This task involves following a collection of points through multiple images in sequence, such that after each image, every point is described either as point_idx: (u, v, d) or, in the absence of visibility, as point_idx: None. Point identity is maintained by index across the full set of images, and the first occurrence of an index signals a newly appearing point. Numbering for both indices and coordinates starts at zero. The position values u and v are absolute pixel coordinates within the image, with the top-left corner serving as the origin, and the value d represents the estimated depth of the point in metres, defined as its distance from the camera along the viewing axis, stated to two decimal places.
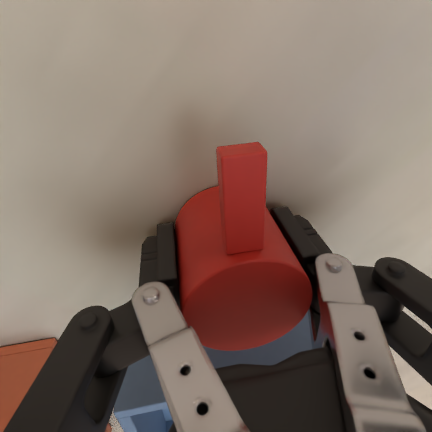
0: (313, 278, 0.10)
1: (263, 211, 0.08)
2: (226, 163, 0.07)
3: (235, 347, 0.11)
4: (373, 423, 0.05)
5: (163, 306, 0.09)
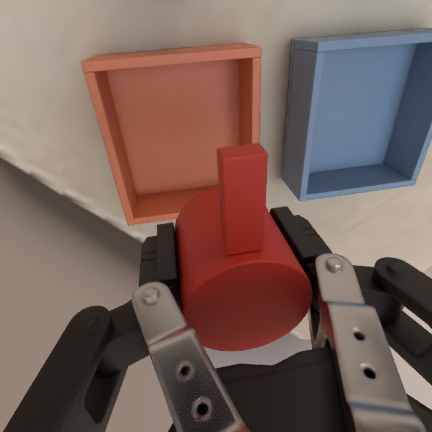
0: (313, 278, 0.10)
1: (263, 212, 0.08)
2: (226, 164, 0.07)
3: (235, 347, 0.11)
4: (373, 423, 0.05)
5: (163, 306, 0.09)
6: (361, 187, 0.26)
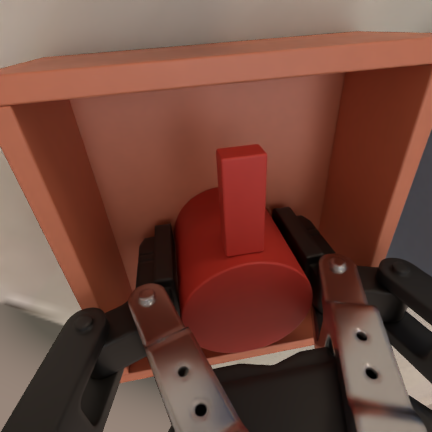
0: (317, 278, 0.10)
1: (263, 213, 0.08)
2: (226, 165, 0.07)
3: (235, 349, 0.11)
4: (374, 423, 0.05)
5: (159, 308, 0.09)
6: None
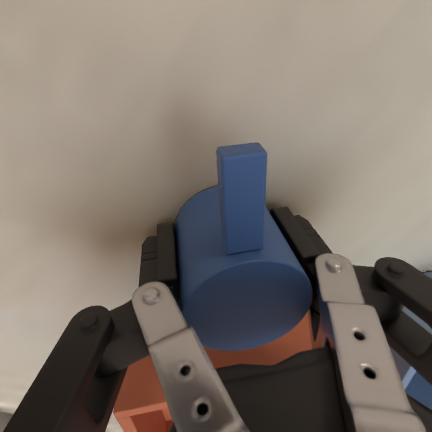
0: (313, 278, 0.10)
1: None
2: None
3: None
4: (373, 423, 0.05)
5: (163, 306, 0.09)
6: None
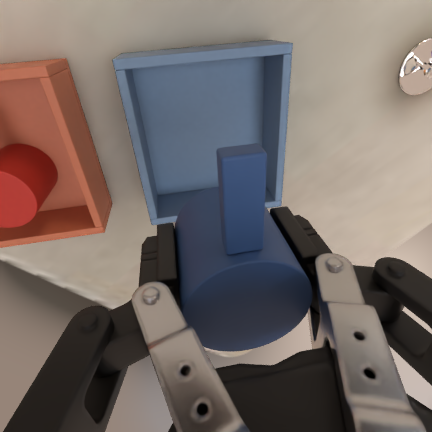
0: (313, 278, 0.10)
1: None
2: None
3: (5, 225, 0.21)
4: (373, 423, 0.05)
5: (163, 306, 0.09)
6: None
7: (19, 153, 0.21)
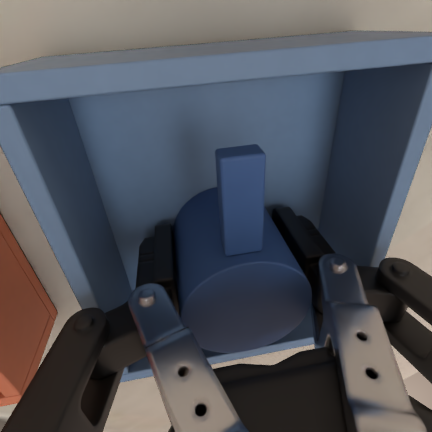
0: (317, 278, 0.10)
1: None
2: None
3: None
4: (374, 423, 0.05)
5: (159, 308, 0.09)
6: None
7: None
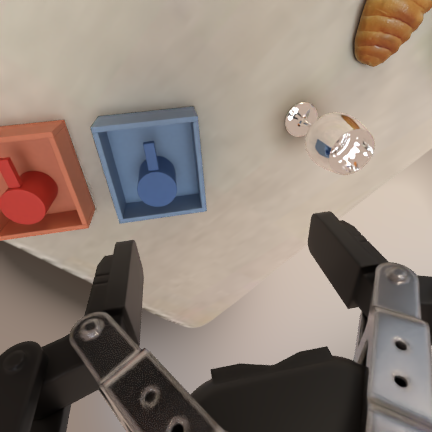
0: (372, 289, 0.10)
1: (13, 175, 0.30)
2: None
3: (25, 222, 0.33)
4: (387, 422, 0.05)
5: (102, 342, 0.08)
6: (164, 213, 0.37)
7: (34, 177, 0.34)
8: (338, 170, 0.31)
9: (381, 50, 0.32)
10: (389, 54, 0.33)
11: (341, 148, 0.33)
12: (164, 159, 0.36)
